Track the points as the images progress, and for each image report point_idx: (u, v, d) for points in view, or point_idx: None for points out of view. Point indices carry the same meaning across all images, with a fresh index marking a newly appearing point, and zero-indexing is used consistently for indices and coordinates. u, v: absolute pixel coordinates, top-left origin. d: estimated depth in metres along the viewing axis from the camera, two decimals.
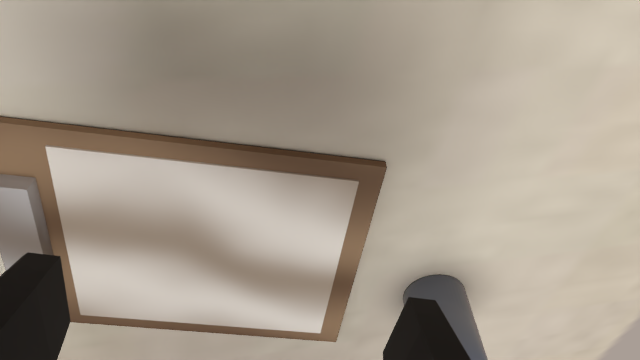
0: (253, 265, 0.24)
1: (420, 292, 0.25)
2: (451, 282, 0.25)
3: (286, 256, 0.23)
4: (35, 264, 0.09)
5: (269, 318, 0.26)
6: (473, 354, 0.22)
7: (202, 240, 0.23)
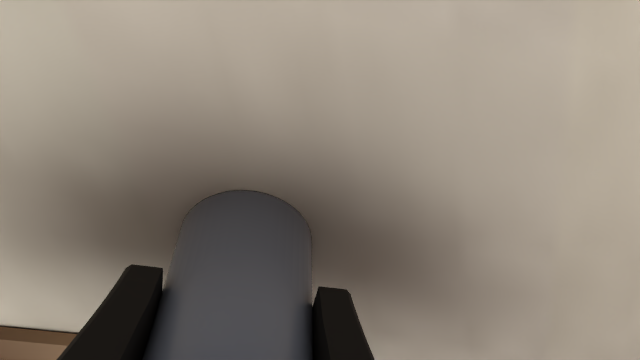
0: None
1: None
2: (180, 232, 0.12)
3: None
4: (142, 277, 0.09)
5: None
6: None
7: None
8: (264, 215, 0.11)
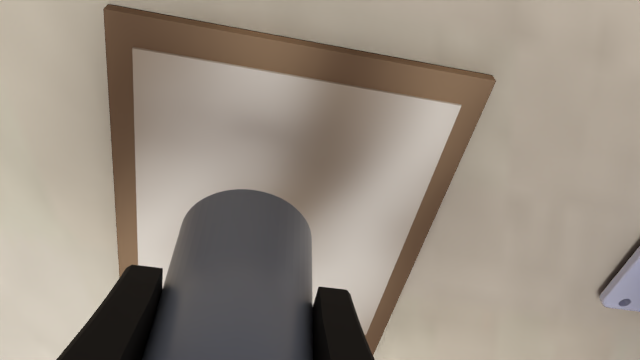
0: (295, 179, 0.18)
1: None
2: (179, 231, 0.12)
3: (279, 141, 0.17)
4: (142, 277, 0.09)
5: (407, 170, 0.18)
6: None
7: None
8: (264, 214, 0.11)
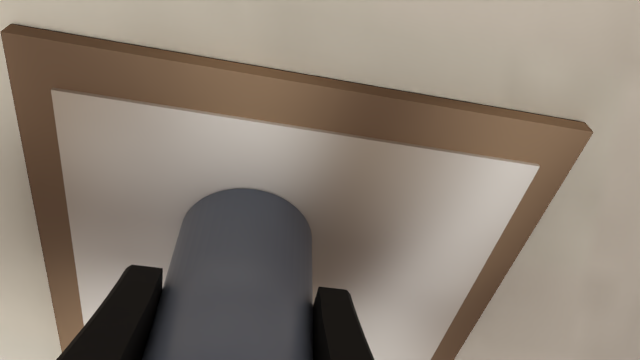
0: None
1: None
2: (180, 230, 0.12)
3: None
4: (142, 277, 0.09)
5: (454, 249, 0.13)
6: None
7: None
8: (264, 213, 0.11)
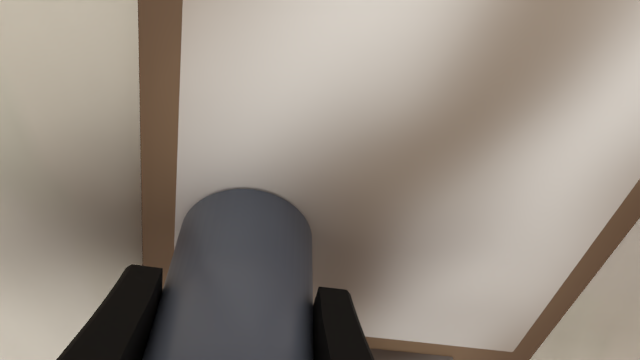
0: (468, 80, 0.10)
1: None
2: (180, 230, 0.12)
3: None
4: (142, 277, 0.09)
5: None
6: None
7: (372, 166, 0.11)
8: (265, 214, 0.11)
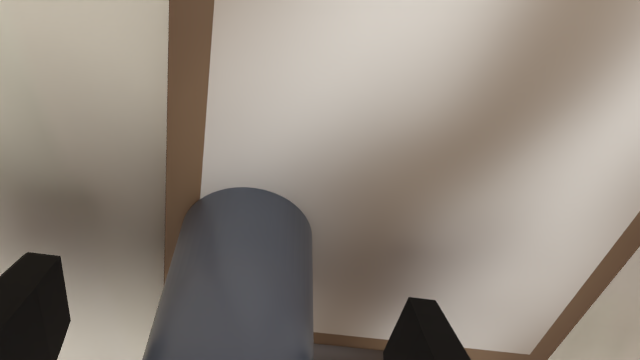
0: (494, 86, 0.10)
1: None
2: (181, 228, 0.12)
3: (486, 4, 0.09)
4: (35, 264, 0.09)
5: None
6: None
7: (396, 171, 0.11)
8: (265, 212, 0.11)
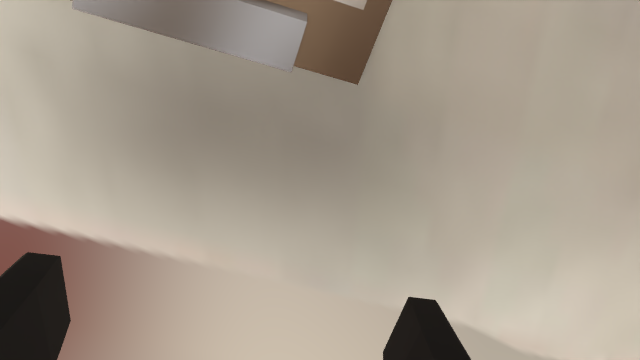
0: None
1: None
2: None
3: None
4: (35, 265, 0.09)
5: None
6: None
7: None
8: None
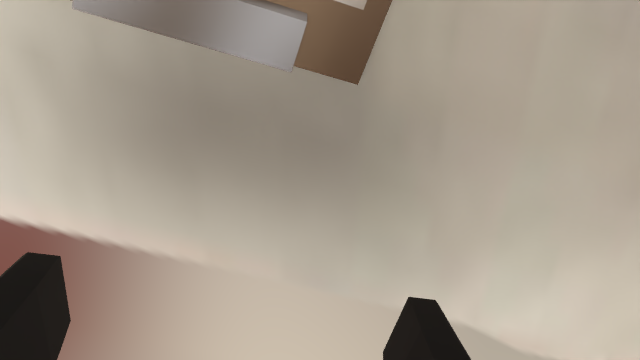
0: None
1: None
2: None
3: None
4: (35, 265, 0.09)
5: None
6: None
7: None
8: None
